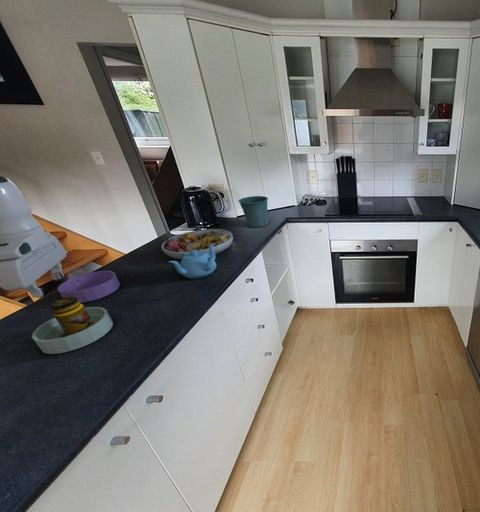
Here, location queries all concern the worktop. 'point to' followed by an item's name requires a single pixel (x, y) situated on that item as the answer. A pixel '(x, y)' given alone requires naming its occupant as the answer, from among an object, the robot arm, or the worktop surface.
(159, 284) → the worktop surface
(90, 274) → the lavender bowl
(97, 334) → the celadon bowl
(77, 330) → the condiment
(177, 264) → the teapot
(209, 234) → the bowl
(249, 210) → the flower pot
